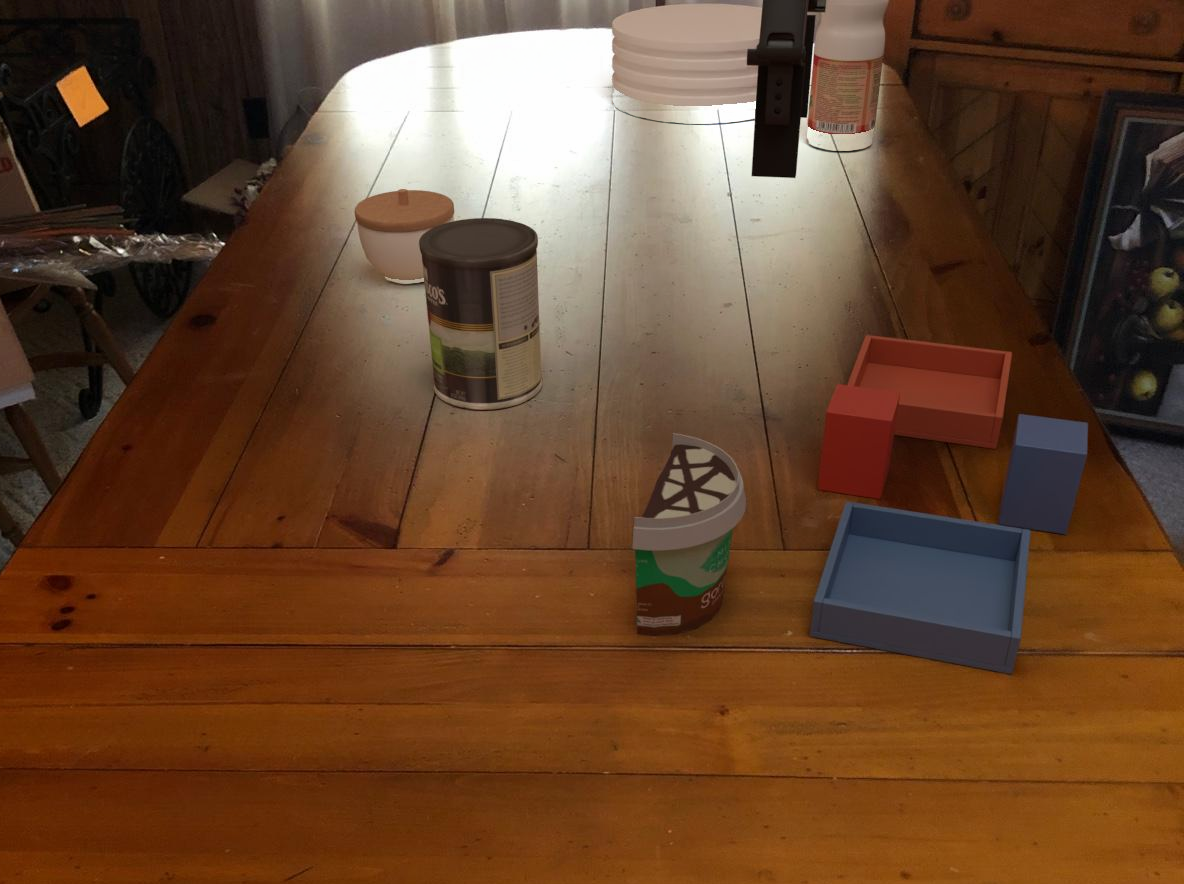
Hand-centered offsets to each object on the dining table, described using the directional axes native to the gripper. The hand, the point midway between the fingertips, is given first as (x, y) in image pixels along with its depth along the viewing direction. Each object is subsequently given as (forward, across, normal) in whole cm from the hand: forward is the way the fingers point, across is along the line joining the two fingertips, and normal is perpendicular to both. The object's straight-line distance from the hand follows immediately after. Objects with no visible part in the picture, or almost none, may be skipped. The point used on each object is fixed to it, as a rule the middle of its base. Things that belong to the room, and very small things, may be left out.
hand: (781, 144), depth 81 cm
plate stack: (+28, -118, -19) cm, 123 cm away
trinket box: (+27, -41, -42) cm, 65 cm away
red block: (+27, -4, +8) cm, 29 cm away
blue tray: (+27, +12, +12) cm, 32 cm away
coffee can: (+28, -16, -26) cm, 41 cm away
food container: (+28, +15, -3) cm, 31 cm away
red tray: (+27, -18, +14) cm, 36 cm away
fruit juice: (+28, -98, +4) cm, 101 cm away
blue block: (+27, -1, +21) cm, 35 cm away
